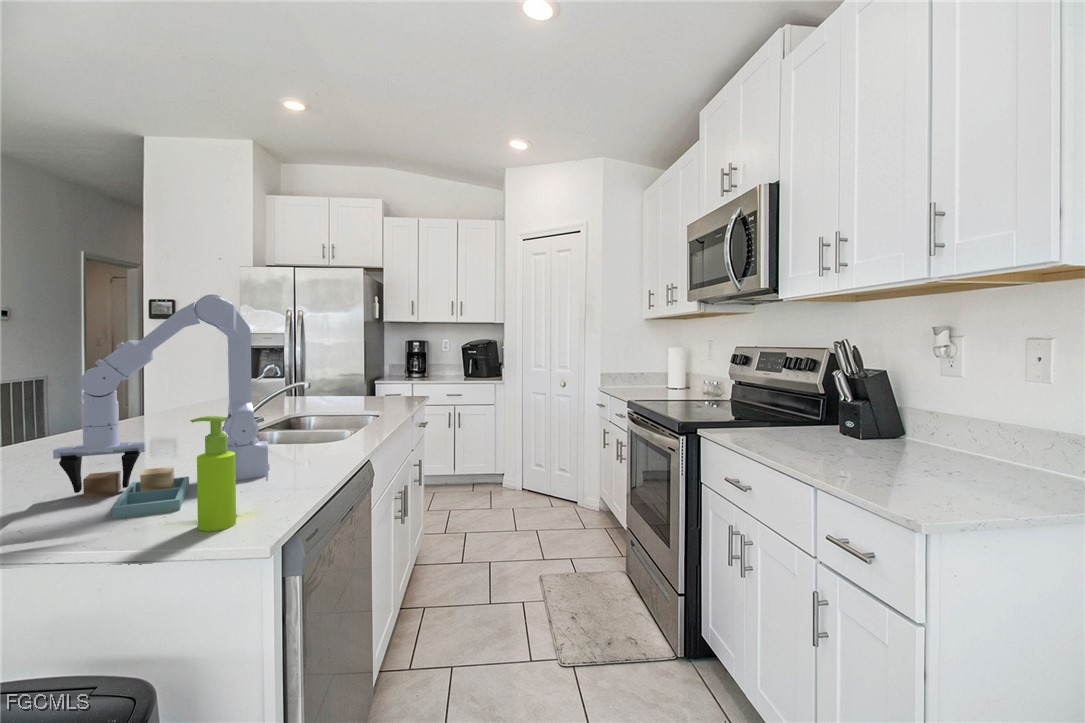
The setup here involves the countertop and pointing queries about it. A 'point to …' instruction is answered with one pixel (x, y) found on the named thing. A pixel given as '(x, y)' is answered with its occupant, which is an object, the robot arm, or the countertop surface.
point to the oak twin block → (157, 479)
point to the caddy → (150, 499)
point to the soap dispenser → (216, 480)
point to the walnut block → (101, 484)
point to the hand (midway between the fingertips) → (102, 489)
